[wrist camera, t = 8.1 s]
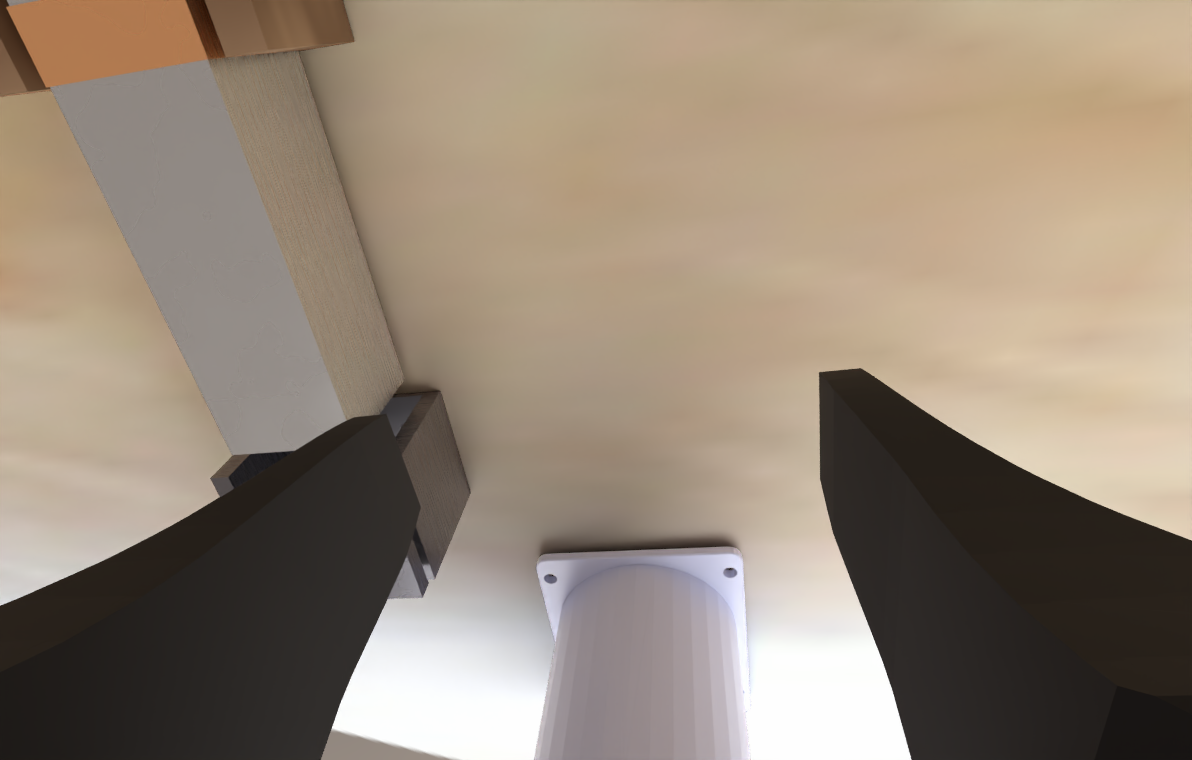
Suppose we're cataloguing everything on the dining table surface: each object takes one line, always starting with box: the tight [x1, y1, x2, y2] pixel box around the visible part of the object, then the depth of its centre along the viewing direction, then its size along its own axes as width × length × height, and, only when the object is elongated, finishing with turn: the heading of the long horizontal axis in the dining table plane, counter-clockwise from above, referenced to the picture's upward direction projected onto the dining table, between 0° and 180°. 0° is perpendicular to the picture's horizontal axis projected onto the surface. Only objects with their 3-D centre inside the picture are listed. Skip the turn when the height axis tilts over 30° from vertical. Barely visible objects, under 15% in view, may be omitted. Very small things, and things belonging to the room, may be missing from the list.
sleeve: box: [211, 391, 470, 599], centre depth 22 cm, size 4×6×5 cm
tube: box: [6, 0, 405, 455], centre depth 18 cm, size 12×4×4 cm, turn 8°
